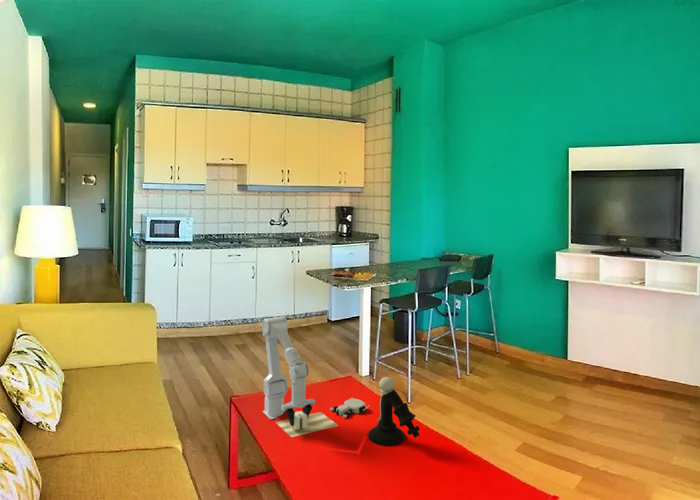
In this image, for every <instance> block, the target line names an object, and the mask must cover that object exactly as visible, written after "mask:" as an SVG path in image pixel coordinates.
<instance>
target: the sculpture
mask: <svg viewBox="0 0 700 500" xmlns="http://www.w3.org/2000/svg"><path fill="white" fill-rule="evenodd" d="M378 383H379V384H378V386H379V388H380V390H379V391H380V392H381V395H380V401H379V413H380V415H379V417H378V418H377V420H376V421H377V424H376V425H375V426H374V427H372V428H371V429H370V430H369V431H368V433H367V438H368V440H369V441H370V442H371V443H374V444H376V445H379V446H387V447H389V446H390V447H391V446H397V445H400V444H402V443H404V442H405V440H406V434H405V431H403V430H402V429H401V428H400V427H405V426H406V428H408V430H407V431H406V432H407V435H408V436H411V435H412V436H413V437H414V439H416V438H417V437H419V436H420V433H419V431H420V426H419V425H416V426H415V425H414V424H413V422H412V421H413V420H414V419H415V418H416V414H413V413H412V412H411V410H410V409H409V405H408V403H407V402H404V401H403V400H402V398H401V396H400V395H399V394H398V392H397V391H396V389H395V382H394V380H393V378H391V377H388V376H384V377H382V378H381V379H380V380H379V382H378ZM393 414H394V415H395V416H396V418H397V419H398V422H399V427H398V426H397V424H396V423H395V422H394V418H393Z"/></svg>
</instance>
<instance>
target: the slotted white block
mask: <svg viewBox="0 0 700 500" xmlns="http://www.w3.org/2000/svg"><path fill="white" fill-rule="evenodd" d="M294 412H295V415H294V426H292V427H293V428H294V429H295V430H297V429H300V420H301V425H302V426H301V427H302V428H305V427H307V415H306V414H305V413H303V410H300V411H299V410H298V411H294ZM290 426H291V425H290Z"/></svg>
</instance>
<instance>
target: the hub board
mask: <svg viewBox="0 0 700 500" xmlns="http://www.w3.org/2000/svg"><path fill="white" fill-rule="evenodd" d="M275 424H276V425H278V426H279V427H280V428H281V430H282V431H284V432H285V433H286V434H287V435H288V436H290V438H294V437H298V436H302V435H303V436H304V435H307V434H310V433H314V432H318V431H323V430H326V429H331V428H334V427H338V426H339V424H337V423H336V422H335V421H333V420H332V419H330V418H329V417H328V416H326V415H325V414H324V413H323V412H322V411H320V412H316V413H315V412H314V413H310V414H309V416H308V419H307V427H305V428H302V427H301V426H302V425H301V420H300V429H297V430H295V429H294V428H293V427H292V426H290V422H289V418H288V419H283V420H280V421H278V420H277V421H275Z"/></svg>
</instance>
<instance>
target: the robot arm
mask: <svg viewBox="0 0 700 500" xmlns="http://www.w3.org/2000/svg"><path fill="white" fill-rule="evenodd" d="M288 329H289V323H288V320H287V318H286V316H284V315H283V316H276V317H270V318H264V319H263V321H262V322H261V330H262V336H263V338H265V346H266V347H265V348H266V358H267V366H268V367H267V368H268V375H267V376H266V377H265V378H264V379H263V387H262V390H263V394H264V395H265V396H264V410H262V413H263V414H264V415H266V417H267V418H268V419H269V420H274V419H277V418H279V417H280V416H282V415H283V414H284V412H285V413H286V415H287V418H288V419H289V422H290V425H291V426H294V415H295V412H296V411H294V409H297V408H300V409H302V412H303V413H305V414H306V415H307V419H308V416H309V414H311V411H312V410H313V406H315V405H316V399H315V398H309V399H308V398H307V397H306V392H307V391H306V388H307V387H306V384H307V383H306V382H307V381H306V378H307V377H308V376H309V374H310V370H309V366H308V364H307V363H306V362H305V361H304V360H302V358H301V356H300V353H299V351H298V349H297V348H296V347H294V346H293V343H292V341H291V338H290V335H289V332H288ZM278 340H279V342H280V344H281V345H282V347H283V349H284V353H283V354H284V357H285V359H286V360H285V361H286V362H287V364H288V367H289V370H288V374H289V377H290V382H291V401H289V402H287V403H285V402H284V401H285V396H286V393H287V392H288V389H289V384H288V381H287V377H286V376H285V374H282V373H281V364H280V354H279V345H278ZM306 398H307V399H306Z"/></svg>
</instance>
